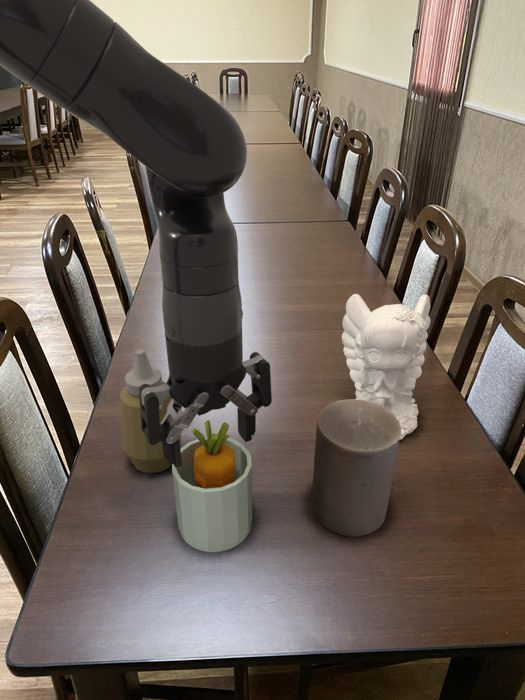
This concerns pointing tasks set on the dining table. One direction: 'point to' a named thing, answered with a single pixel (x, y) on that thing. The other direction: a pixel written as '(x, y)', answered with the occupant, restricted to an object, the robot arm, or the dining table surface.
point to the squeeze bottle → (132, 434)
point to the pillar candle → (354, 466)
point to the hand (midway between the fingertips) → (211, 449)
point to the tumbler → (214, 502)
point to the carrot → (214, 459)
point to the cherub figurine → (387, 354)
